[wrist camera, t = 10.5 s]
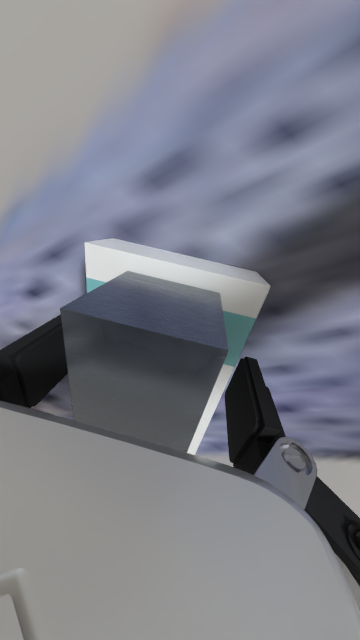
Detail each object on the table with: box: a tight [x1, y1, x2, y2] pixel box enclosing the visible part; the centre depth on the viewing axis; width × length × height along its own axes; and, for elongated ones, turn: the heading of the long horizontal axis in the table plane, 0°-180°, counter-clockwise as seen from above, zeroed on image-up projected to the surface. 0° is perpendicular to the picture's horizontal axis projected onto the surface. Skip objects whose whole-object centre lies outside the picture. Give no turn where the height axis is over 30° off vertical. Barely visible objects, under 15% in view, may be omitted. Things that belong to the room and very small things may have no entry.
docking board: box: [85, 238, 271, 455], centre depth 19 cm, size 22×12×4 cm, turn 169°
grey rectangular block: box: [60, 271, 229, 453], centre depth 13 cm, size 6×7×10 cm
